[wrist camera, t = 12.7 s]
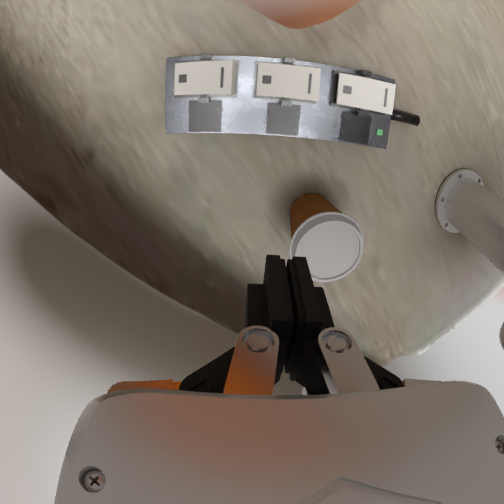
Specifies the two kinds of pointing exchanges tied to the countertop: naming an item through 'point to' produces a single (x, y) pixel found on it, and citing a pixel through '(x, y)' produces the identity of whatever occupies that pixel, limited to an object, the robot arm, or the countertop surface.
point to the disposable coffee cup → (324, 238)
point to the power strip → (277, 107)
